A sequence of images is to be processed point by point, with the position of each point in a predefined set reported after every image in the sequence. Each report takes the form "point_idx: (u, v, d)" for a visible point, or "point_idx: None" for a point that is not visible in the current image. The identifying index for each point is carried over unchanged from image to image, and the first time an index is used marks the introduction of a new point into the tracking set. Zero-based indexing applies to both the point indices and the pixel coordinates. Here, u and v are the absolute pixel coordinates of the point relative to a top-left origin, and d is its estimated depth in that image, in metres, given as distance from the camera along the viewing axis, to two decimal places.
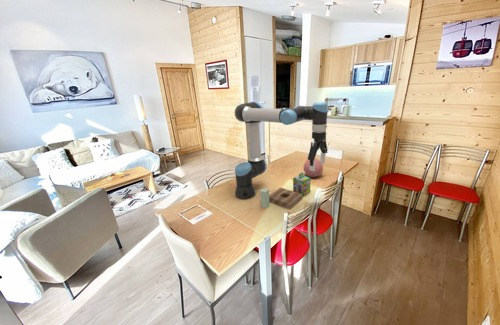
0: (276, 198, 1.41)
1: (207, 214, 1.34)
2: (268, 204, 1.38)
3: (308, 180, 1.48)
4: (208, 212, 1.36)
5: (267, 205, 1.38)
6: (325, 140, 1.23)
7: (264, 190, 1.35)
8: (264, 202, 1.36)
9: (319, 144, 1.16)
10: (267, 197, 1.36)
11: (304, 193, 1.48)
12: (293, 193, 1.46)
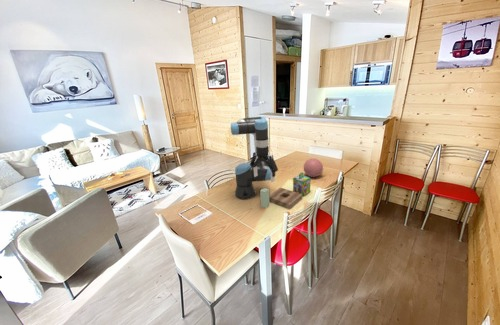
0: (276, 198, 1.41)
1: (207, 214, 1.35)
2: (268, 204, 1.38)
3: (308, 180, 1.48)
4: (208, 212, 1.36)
5: (267, 205, 1.38)
6: (270, 159, 1.23)
7: (264, 190, 1.35)
8: (264, 202, 1.36)
9: (258, 157, 1.28)
10: (267, 197, 1.36)
11: (304, 193, 1.48)
12: (293, 193, 1.46)
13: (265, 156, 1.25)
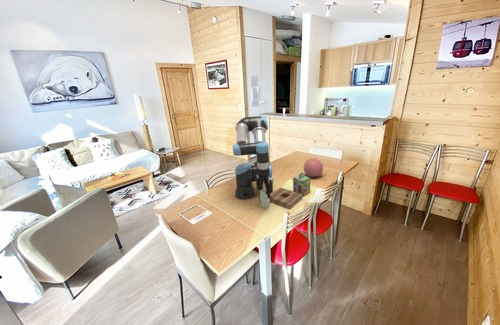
0: (276, 198, 1.41)
1: (207, 214, 1.35)
2: (268, 204, 1.38)
3: (308, 180, 1.48)
4: (208, 212, 1.36)
5: (267, 205, 1.38)
6: (269, 182, 1.28)
7: (264, 190, 1.35)
8: (264, 202, 1.36)
9: (259, 178, 1.33)
10: None
11: (304, 193, 1.48)
12: (293, 193, 1.46)
13: (266, 177, 1.29)
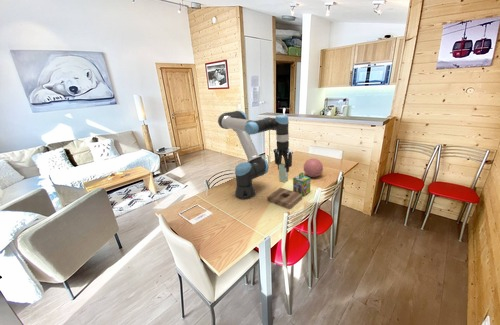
0: (276, 198, 1.41)
1: (207, 214, 1.35)
2: (286, 179, 1.38)
3: (308, 180, 1.48)
4: (208, 212, 1.36)
5: (286, 180, 1.38)
6: (289, 155, 1.28)
7: (283, 164, 1.35)
8: (283, 176, 1.36)
9: (278, 152, 1.33)
10: None
11: (304, 193, 1.48)
12: (293, 193, 1.46)
13: (285, 150, 1.29)
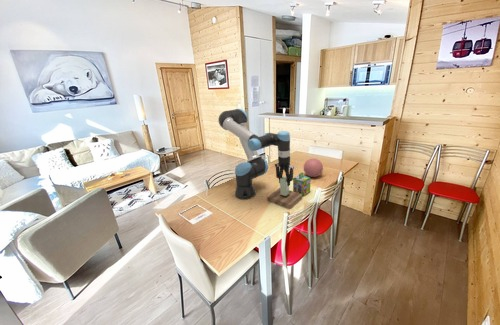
0: (276, 198, 1.41)
1: (207, 214, 1.35)
2: (287, 192, 1.42)
3: (308, 180, 1.48)
4: (208, 212, 1.36)
5: (287, 193, 1.42)
6: (290, 170, 1.33)
7: (284, 178, 1.39)
8: (284, 190, 1.40)
9: (280, 166, 1.37)
10: None
11: (304, 193, 1.48)
12: (293, 193, 1.46)
13: (287, 165, 1.33)
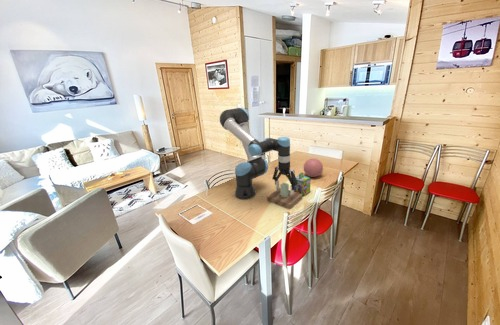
0: (276, 198, 1.41)
1: (207, 214, 1.35)
2: None
3: (308, 180, 1.48)
4: (208, 212, 1.37)
5: None
6: (291, 174, 1.33)
7: (284, 184, 1.41)
8: (284, 196, 1.42)
9: (280, 171, 1.38)
10: (287, 191, 1.42)
11: (304, 193, 1.48)
12: (293, 193, 1.46)
13: (287, 170, 1.35)
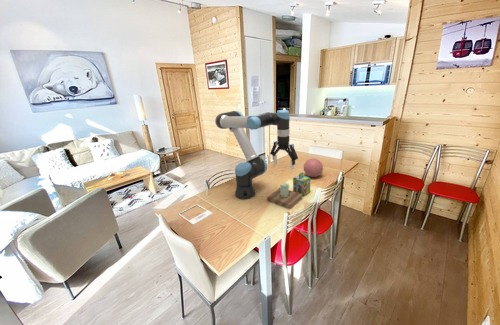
0: (276, 198, 1.41)
1: (207, 214, 1.35)
2: None
3: (308, 180, 1.48)
4: (208, 212, 1.37)
5: None
6: (290, 147, 1.29)
7: (284, 184, 1.41)
8: (284, 196, 1.42)
9: (278, 146, 1.35)
10: (287, 191, 1.42)
11: (304, 193, 1.48)
12: (293, 193, 1.46)
13: (286, 145, 1.31)
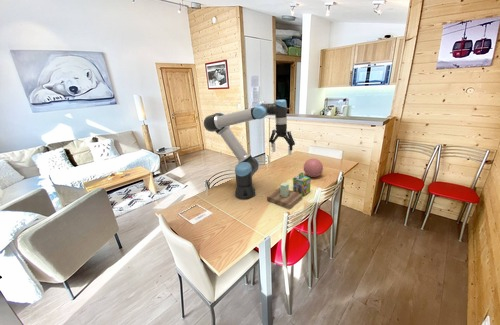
0: (276, 198, 1.41)
1: (207, 214, 1.35)
2: None
3: (308, 180, 1.48)
4: (208, 212, 1.37)
5: None
6: (288, 134, 1.40)
7: (284, 184, 1.41)
8: (284, 196, 1.42)
9: (277, 133, 1.45)
10: (287, 191, 1.42)
11: (304, 193, 1.48)
12: (293, 193, 1.46)
13: (284, 132, 1.42)
